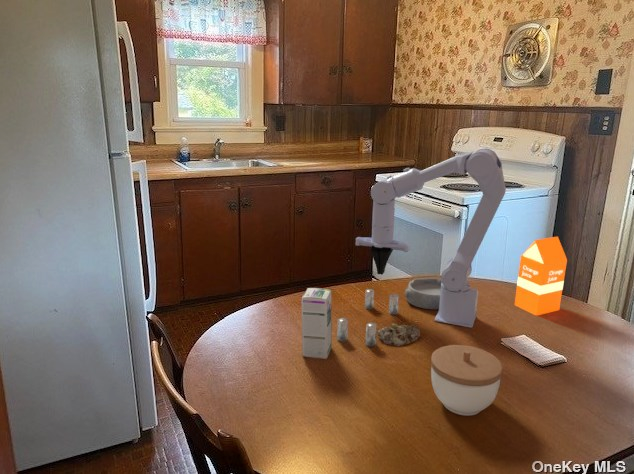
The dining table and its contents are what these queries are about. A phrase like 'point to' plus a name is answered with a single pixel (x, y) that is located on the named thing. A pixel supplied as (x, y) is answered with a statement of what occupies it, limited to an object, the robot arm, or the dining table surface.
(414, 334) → the mineral rock
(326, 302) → the syrup box
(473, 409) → the lidded bowl
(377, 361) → the dining table surface
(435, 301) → the dish
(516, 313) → the dining table surface
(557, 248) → the orange juice
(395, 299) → the spacer posts
